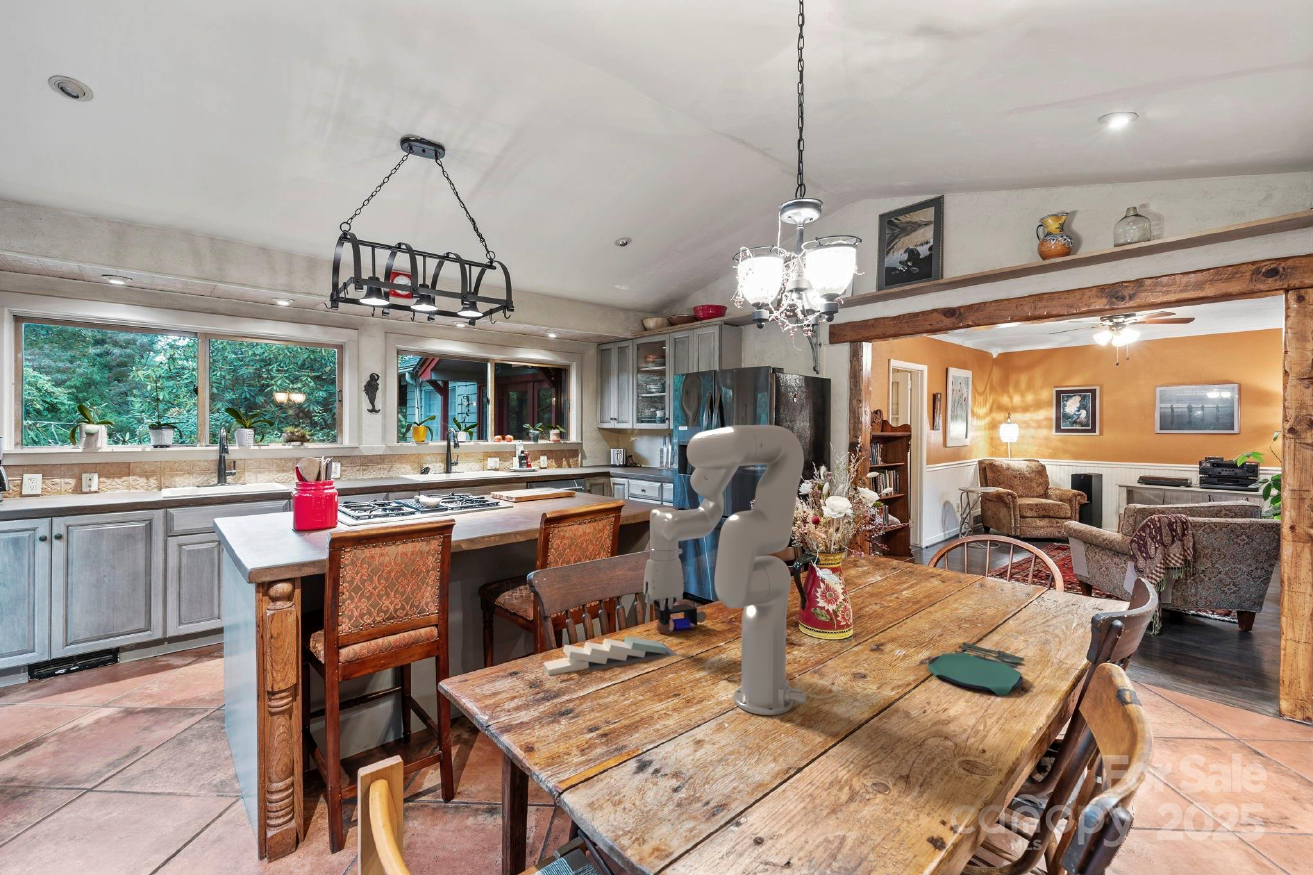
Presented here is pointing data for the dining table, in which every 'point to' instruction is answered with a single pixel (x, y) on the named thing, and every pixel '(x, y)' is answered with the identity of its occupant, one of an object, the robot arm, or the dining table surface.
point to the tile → (645, 645)
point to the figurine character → (682, 623)
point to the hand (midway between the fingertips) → (664, 623)
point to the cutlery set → (978, 669)
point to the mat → (630, 659)
